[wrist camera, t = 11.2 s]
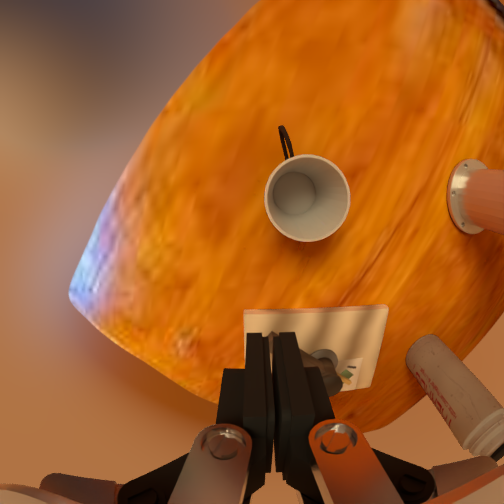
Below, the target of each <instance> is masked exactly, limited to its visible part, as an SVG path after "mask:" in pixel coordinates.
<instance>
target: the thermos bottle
mask: <svg viewBox="0 0 504 504" xmlns="http://www.w3.org/2000/svg"><path fill="white" fill-rule="evenodd" d="M406 365H407V367H408V368H409V369H410V371H411V372H412V374H413V375H414V376H415V378H416V379H417V381H418V382H419V383H420V385H421V386H422V388H423V389H424V391H425V392H426V394H427V395H428V396H429V398H430V399H431V400H432V402H433V404H434V405H435V407H436V408H437V410H438V411H439V413H440V414H441V415H442V417H443V419H444V420H445V422H446V423H447V425H448V426H449V428H450V429H451V431H452V432H453V434H454V436H455V437H456V439H457V440H458V442H459V444H460V445H461V447H462V448H463V449H469V450H470V453H472V455H473V456H478V455H480V456H488V457H491V458H492V459H494V460H495V461H496V462H497V461H498V460H499V459H500V458H502V457H503V456H504V408H503V407H502V406H501V404H500V403H499V402H498V401H497V400H496V399H495V398H494V396H493V395H492V394H491V393H490V392H489V391H488V390H487V389H486V387H485V386H484V385H483V384H482V383H481V382H480V381H479V380H478V378H476V376H475V375H474V374H473V373H472V372H471V371H470V370H469V369H468V368H467V367H466V366H465V365H464V364H463V362H462V361H461V360H460V359H459V358H458V357H457V356H456V355H455V354H454V353H453V352H452V351H451V350H450V349H449V348H448V347H447V346H446V345H445V344H444V343H443V342H442V341H441V340H440V339H439V338H438V337H437V336H436V335H426V336H423V337H422V338H420V339H419V340H417V341H416V342H415V343H414V344H413V345H412V347H411V348H410V349H409V351H408V353H407V356H406Z"/></svg>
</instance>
